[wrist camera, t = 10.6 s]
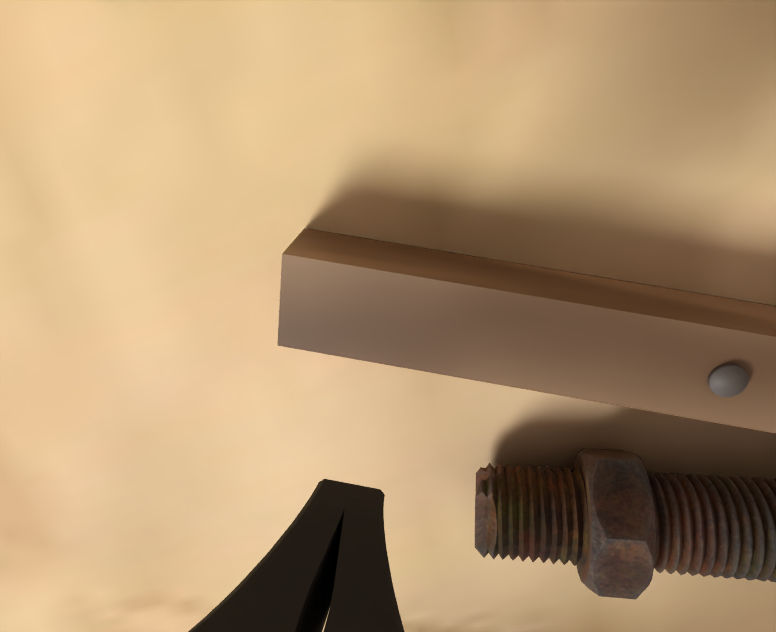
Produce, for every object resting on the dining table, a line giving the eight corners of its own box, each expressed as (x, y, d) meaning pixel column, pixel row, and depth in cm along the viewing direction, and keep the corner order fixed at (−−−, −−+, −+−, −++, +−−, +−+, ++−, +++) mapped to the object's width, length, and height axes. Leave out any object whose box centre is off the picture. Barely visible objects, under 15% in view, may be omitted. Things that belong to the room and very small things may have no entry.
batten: (1087, 447, 19) (1180, 508, 16) (298, 311, 20) (275, 348, 18) (1153, 368, 17) (1265, 422, 15) (304, 228, 19) (280, 256, 16)
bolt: (477, 427, 24) (895, 446, 21) (475, 555, 23) (901, 589, 21) (475, 448, 18) (1048, 477, 15) (472, 618, 17) (1060, 676, 15)
